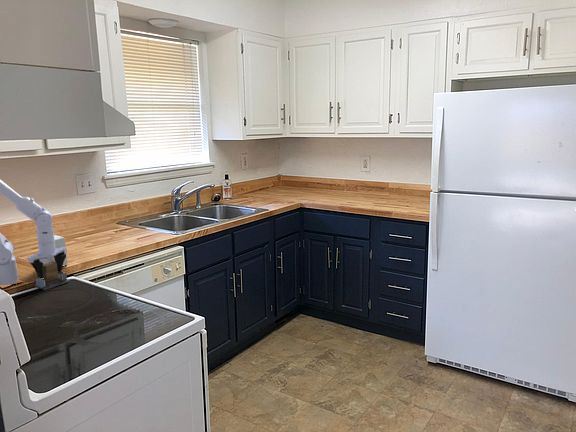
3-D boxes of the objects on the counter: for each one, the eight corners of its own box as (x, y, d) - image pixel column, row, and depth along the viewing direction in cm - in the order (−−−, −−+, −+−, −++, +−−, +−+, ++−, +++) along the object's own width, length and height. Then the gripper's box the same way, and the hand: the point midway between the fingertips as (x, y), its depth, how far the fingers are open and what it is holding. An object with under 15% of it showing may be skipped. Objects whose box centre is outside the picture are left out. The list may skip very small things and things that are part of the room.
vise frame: (35, 286, 172) (34, 278, 171) (60, 277, 180) (59, 270, 180) (44, 290, 169) (43, 282, 168) (70, 281, 177) (69, 273, 177)
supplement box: (56, 262, 196) (53, 234, 193) (68, 265, 193) (65, 237, 190) (40, 267, 190) (36, 238, 187) (51, 271, 187) (48, 241, 184)
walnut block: (42, 279, 179) (40, 264, 177) (53, 275, 183) (51, 261, 181) (47, 281, 177) (45, 266, 176) (58, 277, 181) (56, 263, 180)
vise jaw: (36, 285, 171) (35, 279, 170) (40, 284, 172) (39, 278, 172) (41, 288, 169) (41, 281, 169) (45, 286, 170) (44, 280, 170)
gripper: (33, 248, 168) (38, 283, 172) (70, 238, 180) (73, 271, 184) (22, 244, 172) (27, 278, 175) (59, 235, 184) (62, 267, 187)
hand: (50, 274), depth 180 cm, fingers open, 7 cm apart
